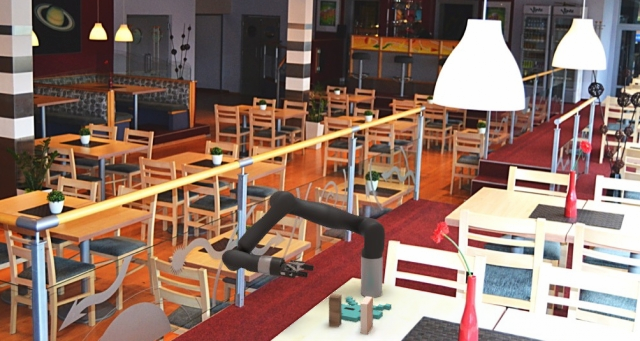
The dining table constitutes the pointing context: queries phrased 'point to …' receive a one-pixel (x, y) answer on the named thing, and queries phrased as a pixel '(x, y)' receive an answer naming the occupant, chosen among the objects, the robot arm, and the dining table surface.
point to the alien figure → (354, 310)
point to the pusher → (335, 310)
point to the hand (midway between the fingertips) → (310, 271)
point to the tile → (366, 314)
